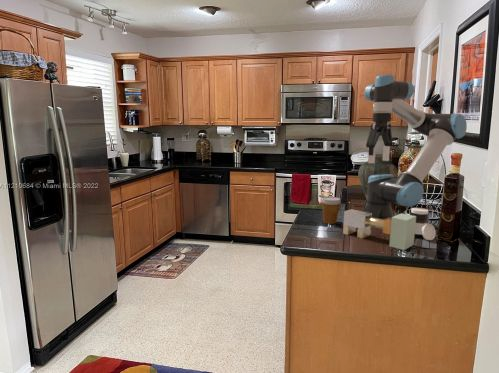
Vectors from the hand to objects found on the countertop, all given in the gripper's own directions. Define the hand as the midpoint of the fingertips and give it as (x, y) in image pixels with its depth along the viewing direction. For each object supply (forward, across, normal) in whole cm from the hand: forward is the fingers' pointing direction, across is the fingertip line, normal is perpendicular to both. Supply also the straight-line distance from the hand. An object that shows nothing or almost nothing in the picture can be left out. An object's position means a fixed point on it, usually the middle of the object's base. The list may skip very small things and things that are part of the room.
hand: (378, 161), depth 159 cm
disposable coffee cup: (+32, +2, -22) cm, 39 cm away
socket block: (+32, +10, +17) cm, 37 cm away
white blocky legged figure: (+32, +10, -3) cm, 33 cm away
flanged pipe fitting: (+32, -8, +18) cm, 38 cm away
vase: (+32, -54, -26) cm, 68 cm away
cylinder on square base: (+28, +10, +7) cm, 30 cm away
